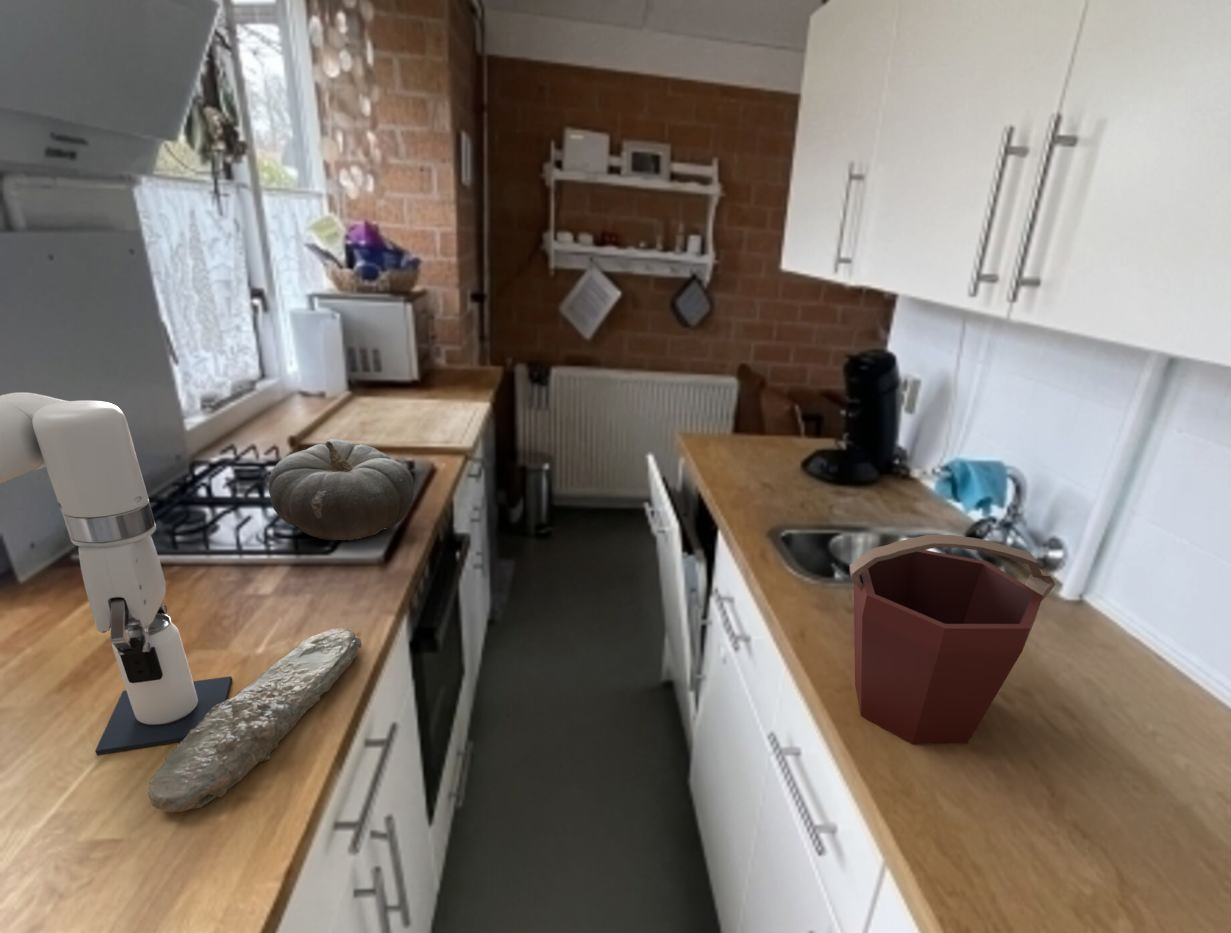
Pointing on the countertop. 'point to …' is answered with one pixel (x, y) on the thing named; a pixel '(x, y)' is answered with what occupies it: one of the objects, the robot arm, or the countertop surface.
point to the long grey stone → (250, 723)
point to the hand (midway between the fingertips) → (153, 661)
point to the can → (175, 687)
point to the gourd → (341, 490)
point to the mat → (135, 734)
